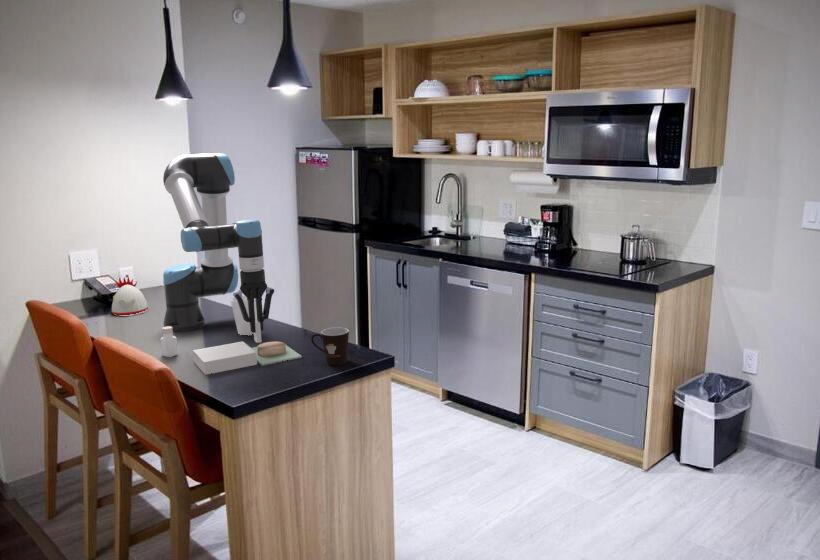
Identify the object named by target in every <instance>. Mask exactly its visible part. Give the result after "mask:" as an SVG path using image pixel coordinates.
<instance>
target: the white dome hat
mask: <svg viewBox="0 0 820 560" xmlns="http://www.w3.org/2000/svg"><path fill="white" fill-rule="evenodd" d="M137 283H138V281H135V283H134V278H132V279H131V281H130V277H129V276H127V279H126V277H123V281H122V280H121V278H120V277H119V278H118V281H115V284H116V285H117V287H118V289H117V291H116V292H115V294H114V295H113V296H112V298H113V299H112V304H111V314H112V313H113V314H116V315H130V314H136V313H139V312H142V311H145V310H146V309H148V310H149V305H148V303H147V300H146V298H145V296H144V294H143V292H142V291H141V290H140V289H139V288H138V287H136V286H137Z"/></svg>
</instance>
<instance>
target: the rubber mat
mask: <svg viewBox="0 0 820 560" xmlns="http://www.w3.org/2000/svg"><path fill="white" fill-rule="evenodd" d="M285 345H286V353H285V354H283V355H280V356H276V357H261V356H259V355H258V350H257V346H253V347H250V348H251V349H253V350H254V351H255V352H256V357H257V363H259V364H260V366H262V367H263V366H268V365H272V364H273V365H274V364H278V363H283V362H287V360H288V361H292V360H298V359H302V355H301V354H300V353H298V352H296V350H294V349H292V348H291V347H289V346H288V345H287V344H285ZM282 361H283V362H282ZM277 362H278V363H277Z"/></svg>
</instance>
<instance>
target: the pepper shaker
mask: <svg viewBox="0 0 820 560" xmlns="http://www.w3.org/2000/svg"><path fill="white" fill-rule="evenodd" d="M161 331H162V332H161V333H162V337H161V338H160V349H161V356H163V357H166V358H171V357H175V356H177V355H179V349H178V342H177V341H178V340H177V337H176V336H175V335H173V334H174V332H173V328H172V327H171V326H167V327H164V326H162V328H161Z"/></svg>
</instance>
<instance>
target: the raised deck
mask: <svg viewBox="0 0 820 560" xmlns="http://www.w3.org/2000/svg"><path fill="white" fill-rule="evenodd" d="M251 348H252V347H251V346H249V344H247V343H245V342H244V341H243V340H242V341H236V342H233V343H232V342H231V343H226V344H221V345H215V346H208V347H203V348H199V349H193V350H192V352H193V353H192V354H193V363H194V364H195V365H196V366H197V367H198V368H199V369H200V371H201V372H202V373H203V374H204V375H205V376H207V375H211V373H212V374H217V373H221V372H227V371H233V370H237V369H241V368H242V369H243V368H247V367H251V366H257V365H258V362H257V357H256V352H255V351H254V350H253V349H251ZM206 374H207V375H206Z"/></svg>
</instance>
